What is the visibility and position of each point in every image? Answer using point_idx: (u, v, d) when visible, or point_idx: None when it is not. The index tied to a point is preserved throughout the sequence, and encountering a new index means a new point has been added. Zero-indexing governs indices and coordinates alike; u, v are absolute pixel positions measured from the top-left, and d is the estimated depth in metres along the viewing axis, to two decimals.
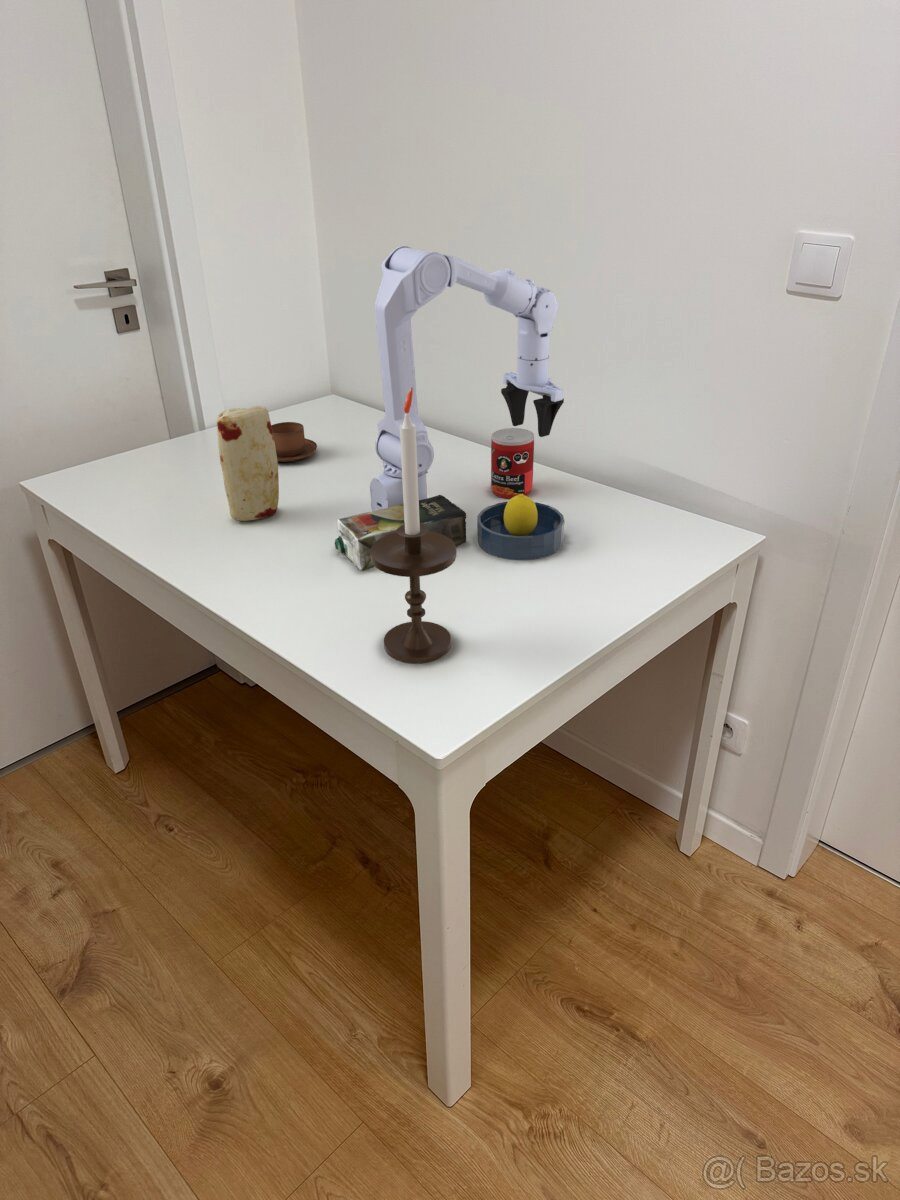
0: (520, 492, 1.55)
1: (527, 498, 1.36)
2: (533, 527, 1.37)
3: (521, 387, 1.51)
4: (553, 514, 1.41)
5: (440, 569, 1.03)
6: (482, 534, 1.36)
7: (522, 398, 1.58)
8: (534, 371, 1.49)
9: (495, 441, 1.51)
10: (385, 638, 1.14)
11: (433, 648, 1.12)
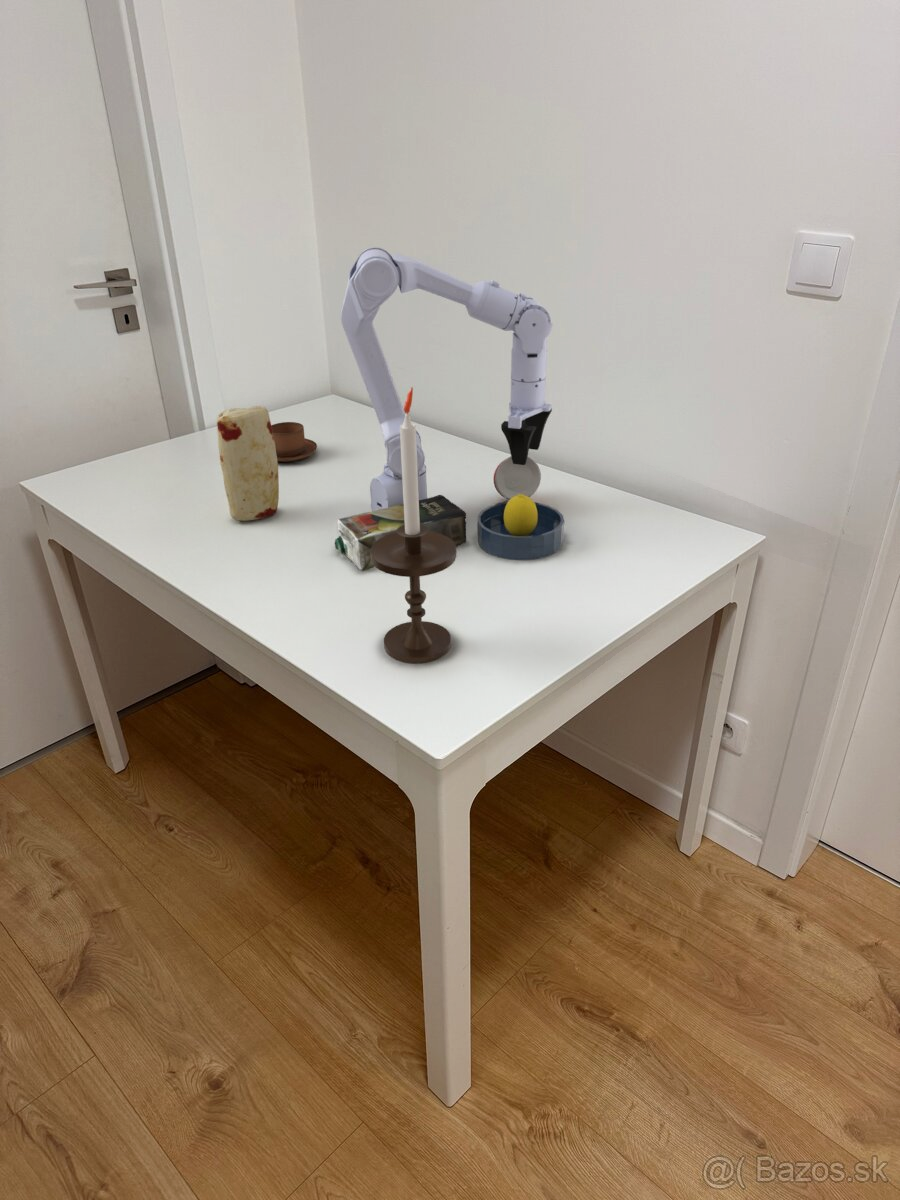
0: None
1: (527, 498, 1.36)
2: (533, 527, 1.37)
3: None
4: (553, 514, 1.41)
5: (440, 569, 1.03)
6: (482, 534, 1.36)
7: (538, 422, 1.46)
8: (514, 391, 1.38)
9: (497, 489, 1.44)
10: (385, 638, 1.14)
11: (433, 648, 1.12)
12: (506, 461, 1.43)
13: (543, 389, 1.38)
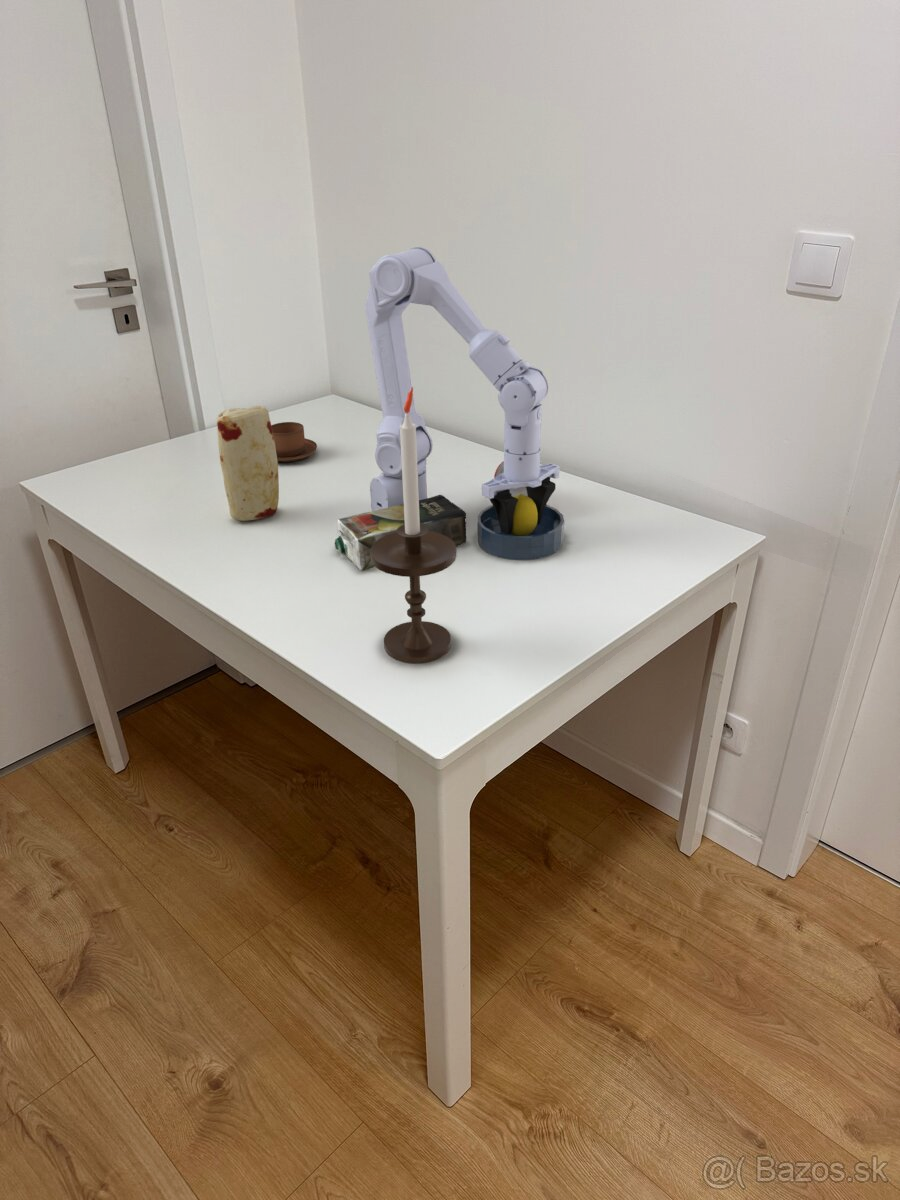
0: None
1: (527, 498, 1.36)
2: (533, 527, 1.37)
3: None
4: (553, 514, 1.41)
5: (440, 569, 1.03)
6: (482, 534, 1.36)
7: (538, 496, 1.37)
8: None
9: None
10: (385, 638, 1.14)
11: (433, 648, 1.12)
12: None
13: (530, 464, 1.31)
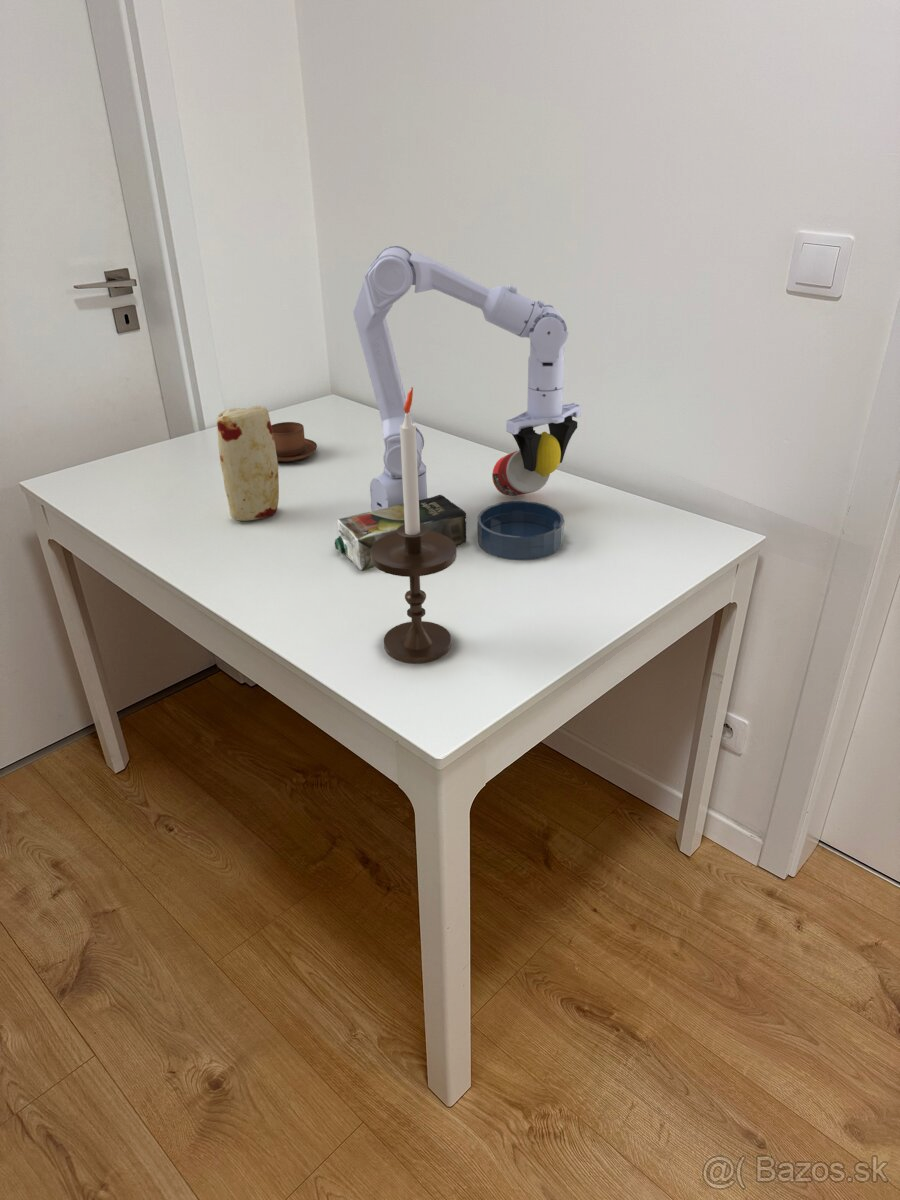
0: None
1: (550, 436, 1.40)
2: (556, 464, 1.41)
3: None
4: (553, 514, 1.41)
5: (440, 569, 1.03)
6: (482, 534, 1.36)
7: (560, 435, 1.42)
8: None
9: (508, 480, 1.45)
10: (385, 638, 1.14)
11: (433, 648, 1.12)
12: (518, 453, 1.45)
13: (553, 400, 1.35)
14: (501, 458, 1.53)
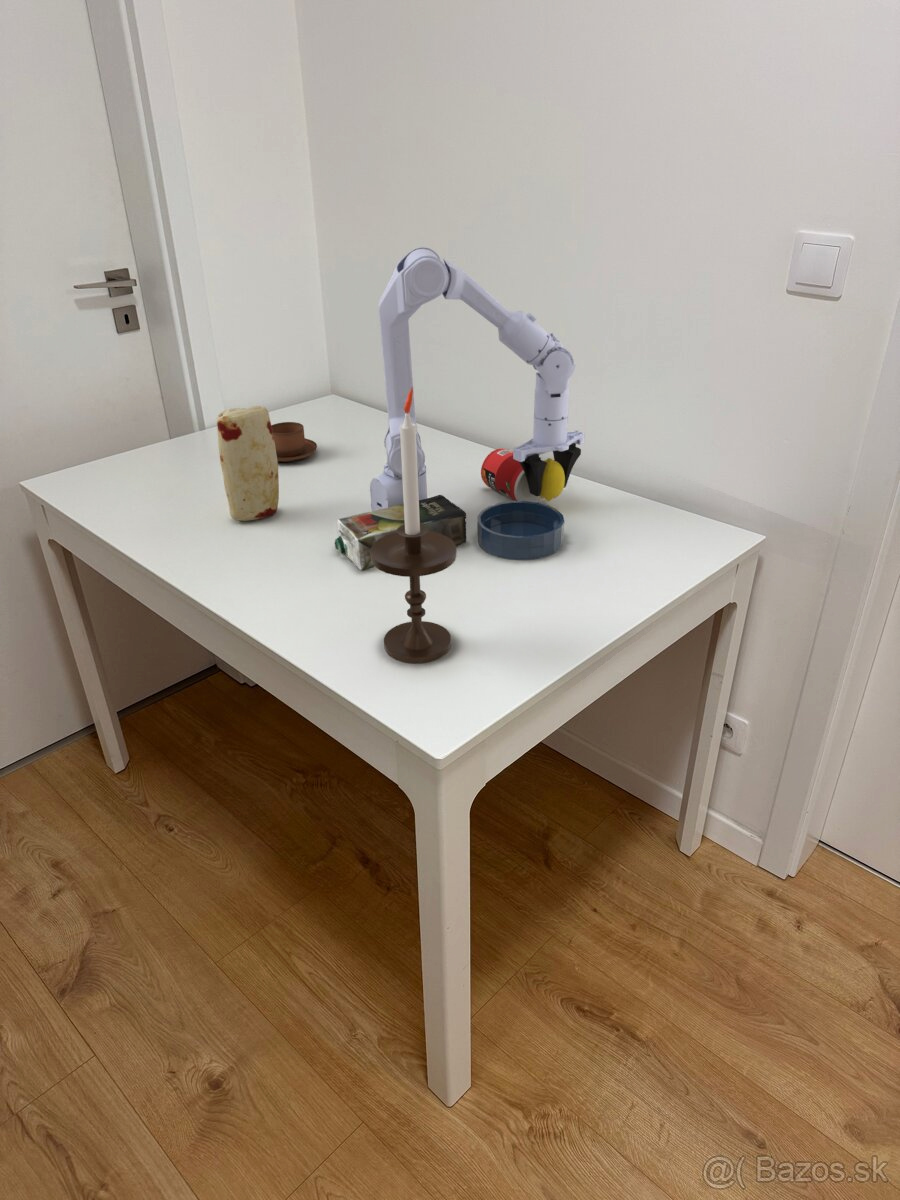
0: None
1: (555, 462, 1.46)
2: (560, 489, 1.47)
3: None
4: (553, 514, 1.41)
5: (440, 569, 1.03)
6: (482, 534, 1.36)
7: (564, 461, 1.48)
8: None
9: (515, 493, 1.49)
10: (385, 638, 1.14)
11: (433, 648, 1.12)
12: None
13: (559, 429, 1.41)
14: (496, 455, 1.54)
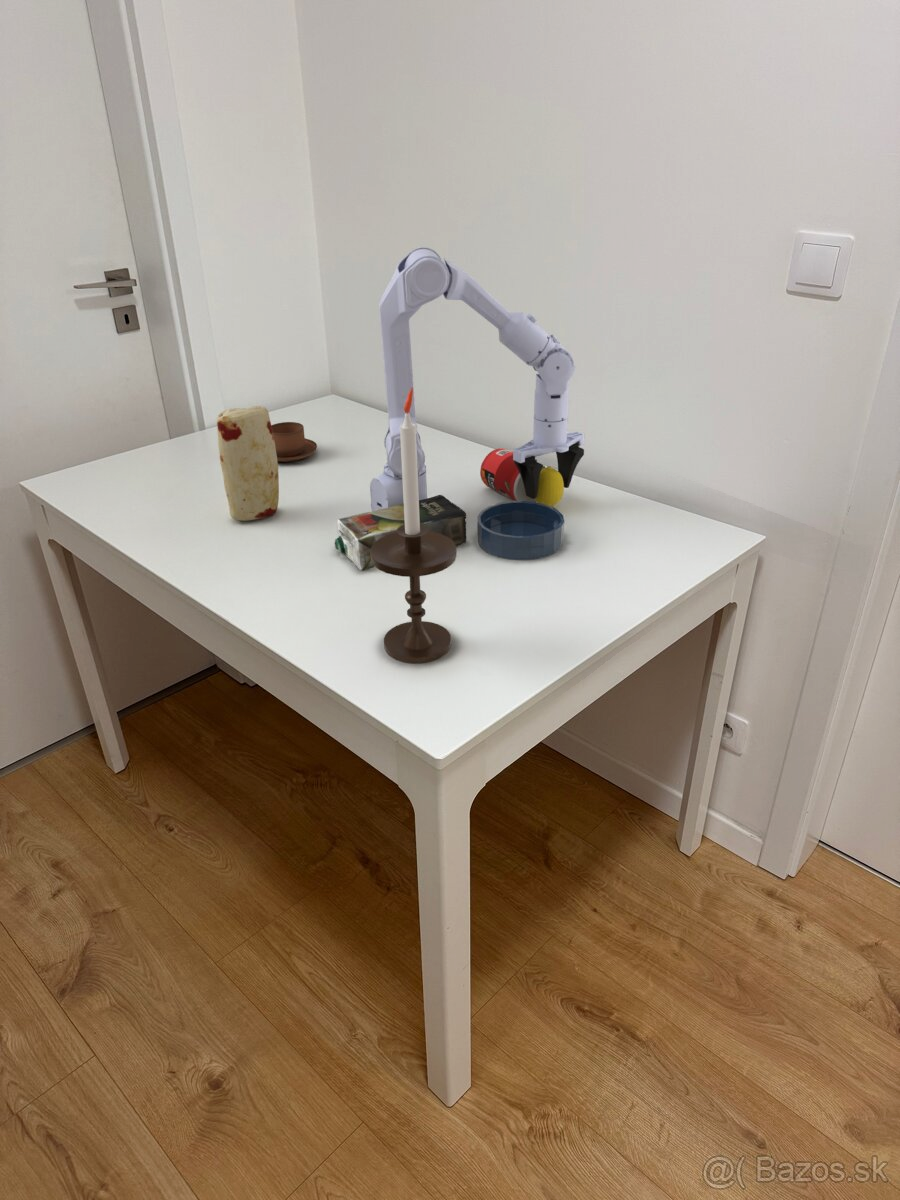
0: None
1: (554, 470, 1.47)
2: (559, 497, 1.48)
3: None
4: (553, 514, 1.41)
5: (440, 569, 1.03)
6: (482, 534, 1.36)
7: (568, 461, 1.48)
8: None
9: (514, 493, 1.49)
10: (385, 638, 1.14)
11: (433, 648, 1.12)
12: None
13: (558, 430, 1.41)
14: (495, 455, 1.54)
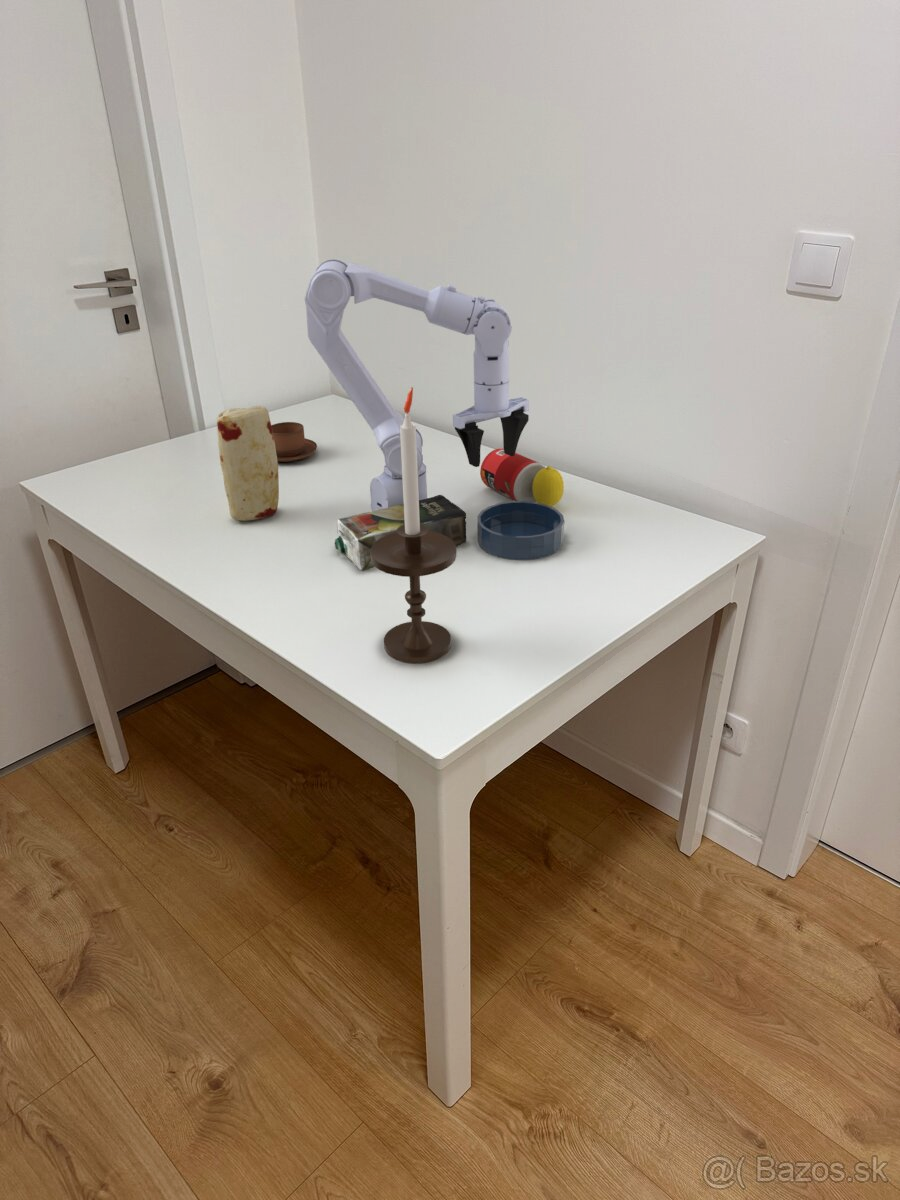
0: None
1: (554, 470, 1.47)
2: (559, 497, 1.48)
3: None
4: (553, 514, 1.41)
5: (440, 569, 1.03)
6: (482, 534, 1.36)
7: (512, 428, 1.43)
8: (474, 392, 1.38)
9: (514, 493, 1.49)
10: (385, 638, 1.14)
11: (433, 648, 1.12)
12: (528, 469, 1.48)
13: (499, 394, 1.36)
14: (495, 455, 1.54)
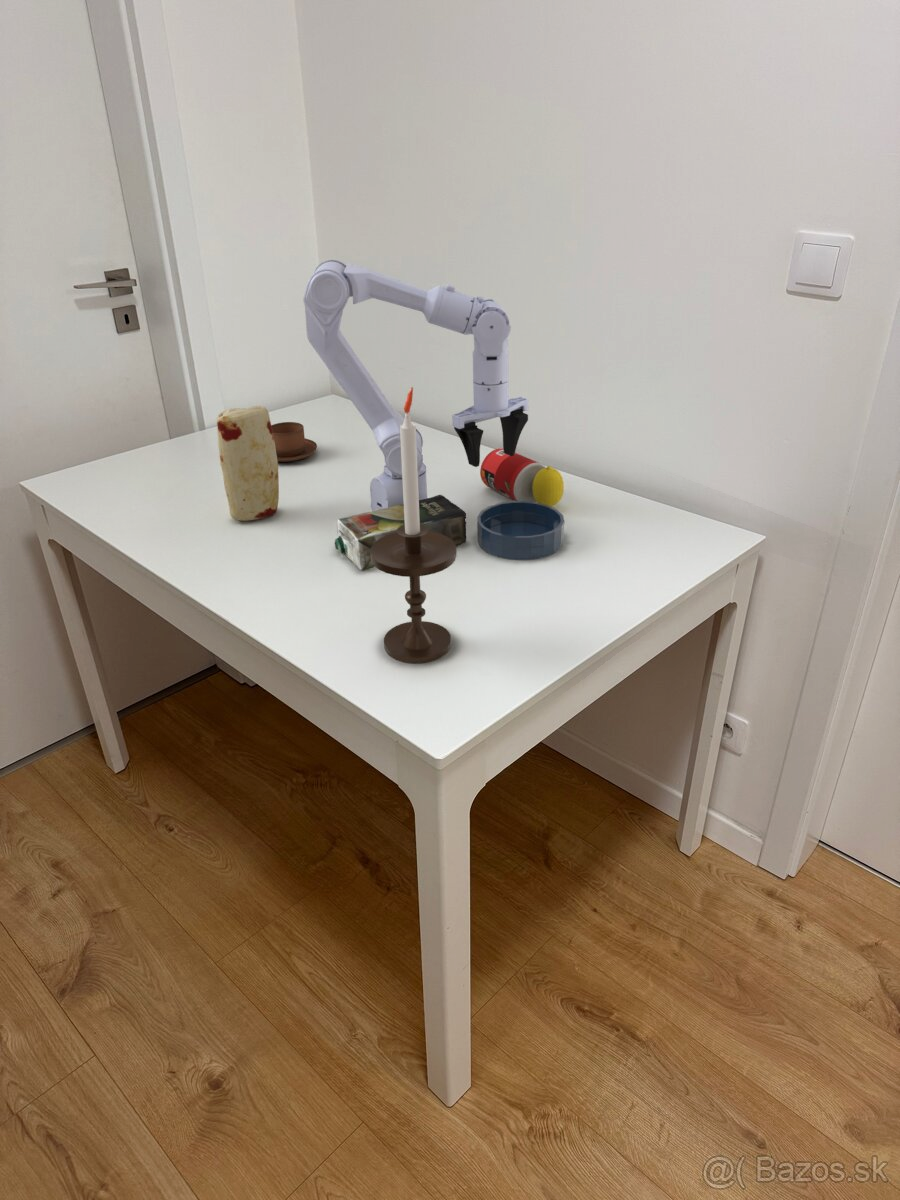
0: None
1: (554, 470, 1.47)
2: (559, 497, 1.48)
3: None
4: (553, 514, 1.41)
5: (440, 569, 1.03)
6: (482, 534, 1.36)
7: (512, 428, 1.42)
8: (473, 392, 1.38)
9: (514, 493, 1.49)
10: (385, 638, 1.14)
11: (433, 648, 1.12)
12: (528, 469, 1.48)
13: (498, 394, 1.35)
14: (495, 455, 1.54)
